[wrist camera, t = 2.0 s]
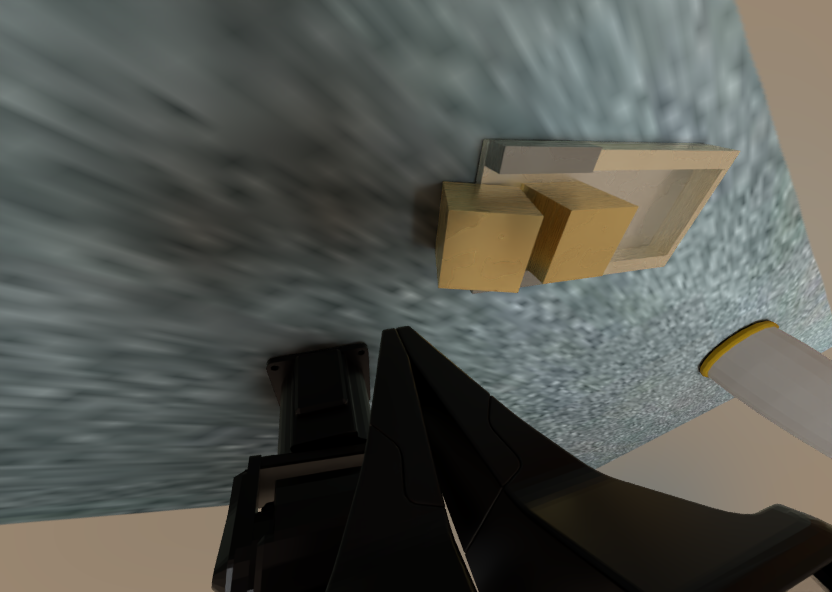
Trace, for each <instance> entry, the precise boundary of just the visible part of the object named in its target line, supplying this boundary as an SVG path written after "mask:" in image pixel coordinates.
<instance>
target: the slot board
mask: <svg viewBox="0 0 832 592" xmlns="http://www.w3.org/2000/svg"><path fill="white" fill-rule="evenodd" d="M739 153H740V151H738V150H733V149H728V148H723V147H719V146H714V145H709V144H699V143H647V142H594V141H542V140H490V139H483V145H482V150H481V155H480V161H479V166H478V172H477V177H476V183H475V184H488V185H502V186H515V187H519V188H521V184H522V183H538V182H576V181H581V182H583V183H585V184H588V185H590V186H592V187H595V188H597V189H599V190H602V191H604V192H606V193H609V194H611V195H613V196H616V197H618V198H620V199H623V200H625V201H627V202H630V203H632V204H634V205H636V206H639V207H638V209H637V211H636V213H635V215H634V217H633V219H632V221H631V222H630V224H629V226H628V228H627V230H626V232H625V234H624V236H623V238H622V239H621V241H620V243H619V245H618V247H617V249H616V251H615V253H614V255H613V256H612V258H611V260H610V262H609V264H608V266H607V268H606V270H605V272H604V273H603V275H605V274H612V273H619V272H627V271H634V270H641V269H649V268H656V267H663V266H665V264H666V263H667V261H668V260H669V258H670V257H671V255H672V254H673V252H674V251H675V249H676V248H677V246H678V245H679V243H680V242H681V240H682V239H683V237H684V236H685V234H686V233H687V231H688V229H689V228H690V226H691V225H692V223H693V222H694V220H695V219H696V217H697V216H698V214H699V213H700V211H701V210H702V208H703V207H704V205H705V204H706V202H707V201H708V199H709V198H710V196H711V195H712V193H713V192H714V190H715V189H716V187H717V186H718V184H719V183H720V181H721V180H722V178H723V177H724V175H725V174H726V172H727V171H728V169H729V168H730V166H731V165H732V163H733V162H734V160H735V159H736V157H737V156H738V154H739ZM540 284H542V283H541V282H540V281H539V280H538V279H537V278H536V277H535V276H534V275H533V274H532V273H531V272H529V271H528V270H527V269H526V270H525V273H524V276H523V279H522V282H521V285H520V287H525V286H533V285H540ZM546 284H547V283H546ZM470 291H471V293H472V294H474V293H482V292H489V291H481V290H470Z"/></svg>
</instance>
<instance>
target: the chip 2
mask: <svg viewBox="0 0 832 592" xmlns="http://www.w3.org/2000/svg"><path fill="white" fill-rule="evenodd" d="M520 189H521V190H522V191H523V193H524V194H525V195H526V196H527V197H528V198H529V200H530V201H531V202H532V203H533V204H534V205H535V207H536V208H537V209H538V210H539V211H540V213H541V214H542V215H543V216H544V217H543V220H542V223H541V226H540V229H539V232H538V235H537V238H536V241H535V244H534V247H533V249H532V252H531V255H530V258H529V261H528V264H527V267H526V269H527V270H528V271H529V272H531V273H532V274H533V275H534V276H535V277H536V278H537V279H538V280H539V281H540V282H541V283H542V284H546V283H553V282H560V281H568V280H575V279H582V278H589V277H597V276H602V275H603V273H604V272H605V270H606V268H607V266H608V264H609V262H610V260H611V258H612V256H613V255H614V253H615V251H616V249H617V247H618V245H619V243H620V241H621V239H622V238H623V236H624V234H625V232H626V230H627V228H628V226H629V224H630V222H631V221H632V219H633V217H634V215H635V213H636V211H637V209H638V207H639V206H636V205H634V204H632V203H630V202H627V201H625V200H623V199H620V198H618V197H616V196H613V195H611V194H609V193H606V192H604V191H602V190H599V189H597V188H595V187H592V186H590V185H588V184H585V183H583V182H581V181H576V182H538V183H522V184H521V188H520Z"/></svg>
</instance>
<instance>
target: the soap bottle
mask: <svg viewBox="0 0 832 592" xmlns="http://www.w3.org/2000/svg"><path fill="white" fill-rule="evenodd" d="M778 328H779V326H778V325H777V324H776V323H774V322H771V321H764V322H760V323H756V324H754V325H751V326H749V327H747V328H745V329H743V330H741V331H739V332H738V333H736V334H734V335H733V336H731V337H730V338H728V339H727V340H725V341H724V342H723V343H722V344H720V345H719V346H718V347H717V348H715V349H714V350H713V351H712V352H711V353H710V354H709V356H708V357H707V358H706V359H705V361H704V362H703V364H702V366H701V367H700V373H701V374H702V376H705V377H709V378H711V379H712V380H713V381H715V382H716V383H717V384H718V385H720V386H721V387H722V388H724V389H725V390H726V391H727V392H729V393H730V394H732V395H733V396H734V397H736V398H737V399H739V400H740V401H742V402H743V403H745V404H746V405H748V406H749V407H750V408H752V409H753V410H755V411H756V412H757V413H759V414H760V415H762V416H763V417H765V418H767V419H768V420H770V421H771V422H773V423H774V424H776V425H778V426H779V427H781V428H782V429H784V430H785V431H787V432H789V433H790V434H792V435H793V436H795V437H797V438H798V439H800V440H802V441H803V442H805V443H806V444H808V445H810V446H811V447H813V448H815V449H816V450H818V451H820V452H821V453H823V454H825V455H826V456H828V457H830V458H832V360H830V359H829V358H827V357H826V356H824V355H822V354H821V353H819V352H818V351H816V350H815V349H813V348H811V347H810V346H808V345H807V344H805V343H803V342H801V341H800V340H798V339H796V338H794V337H792V336H791V335H789V334H787V333H785V332H784V331H782V330H780V329H778Z"/></svg>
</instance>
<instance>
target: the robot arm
mask: <svg viewBox="0 0 832 592" xmlns="http://www.w3.org/2000/svg"><path fill="white" fill-rule="evenodd" d="M360 350H362V351H360ZM274 365H277V366H274ZM266 370H267V372H268V375H269V378H270V381H271V383H272V386H273V389H274V392H275V394H276V397H277V400H278V403H279V405H280V421H279V439H278V455H271V456H263V457H261V455H256V456H250V457H249V463H248V469H246V470H245V471H244V472H242V473H241V474H239V475H237V476H235V477H234V479H233V486H232V492H231V498H230V504H229V510H228V515H227V520H226V524H225V528H224V533H223V536H222V540H221V544H220V548H219V552H218V556H217V560H216V564H215V568H214V573H213V579H212V590H213V591H214V592H477V590H476V588H475V586H474V583H473V581H472V579H471V576H470V574H469V572H468V569H467V567H466V565H465V562H464V560H463V558H462V556H461V553H460V551H459V549H458V546H457V544H456V542H455V539H454V536H453V533H452V530H451V527H450V523H449V520H448V516H447V512H446V509H445V504H444V500H445V502H446V505H447V508H448V510H449V513H450V516H451V518H452V521H453V524H454V526H455V529H456V532H457V534H458V537H459V540H460V542H461V545H462V548H463V551H464V552H465V556H466V559H467V561H468V564H469V567H470V570H471V572H472V575H473V578H474V580H475V583H476V586H477V588H478V591H479V592H832V525H831V524H828V523H826V522H824V521H822V520H820V519H818V518H815V517H813V516H811V515H808V514H806V513H803V512H800V511H797V510H794V509H792V508H789V507H786V506H784V505H781V504H774V505H772V506H769V507H767V508H765V509H763V510H761V511H759V512H757V513H755V514H739V513H733V512H727V511H723V510H719V509H715V508H711V507H708V506H705V505H702V504H698V503H695V502H692V501H688V500H685V499H682V498H678V497H675V496H672V495H668V494H665V493H662V492H658V491H655V490H651V489H648V488H645V487H642V486H638V485H635V484H632V483H629V482H625V481H622V480H618V479H616V478H613V477H610V476H608V475H605V474H603V473H601V472H599V471H597V470H595V469H593V468H592V467H590V466H588V465H586V464H585V463H583V462H582V461H580V460H579V459H577V458H576V457H574V456H573V455H572V454H570V453H569V452H567V451H566V450H564V449H563V448H562V447H560V446H559V445H557V444H556V443H554V442H553V441H551V440H550V439H549V438H547V437H546V436H544V435H543V434H541V433H540V432H538V431H537V430H536V429H534V428H533V427H532V426H530V425H529V424H527V423H526V422H525V421H523V420H522V419H521V418H519V417H518V416H517V415H515V414H514V413H513V412H512V411H510V410H509V409H508V408H507V407H505V406H504V405H503V404H502V403H500V402H499V401H498V400H497V399H496V398H494V397H493V396H490V394H489V393H488V392H487V391H486V390H485V389H484V388H482V387H481V386H480V385H479V384H478V383H476V382H475V381H474V380H473V379H472V378H470V377H469V376H468V375H467V374H466V373H465V372H463V371H462V370H461V369H460V368H459V367H457V366H456V365H455V364H454V363H453V362H451V361H450V360H449V359H448V358H447V357H446V356H444V355H443V354H442V353H441V352H440V351H438V350H437V349H436V348H435V347H434V346H432V345H431V344H430V343H429V342H428V341H426V340H425V339H424V338H423V337H422V336H421V335H419V334H418V333H417V332H416V331H415V330H413V329H412V328H411V327H410V326H403V327H398V328H396V329H395V328H391V329H385V330H383V331H382V336H381V343H380V350H379V357H378V365H377V372H376V379H375V386H374V393H373V400H372V407H371V409H370V404H369V400H370V376H369V353H368V347H367V345H366V344H355V345H349V346H343V347H337V348H331V349H325V350H319V351H313V352H307V353H301V354H295V355H289V356H284V357H278V358H273V359H270V360H268V362H267V367H266ZM442 494H443V495H442ZM443 497H444V499H443ZM258 508H262V509H261V512H258Z"/></svg>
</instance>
